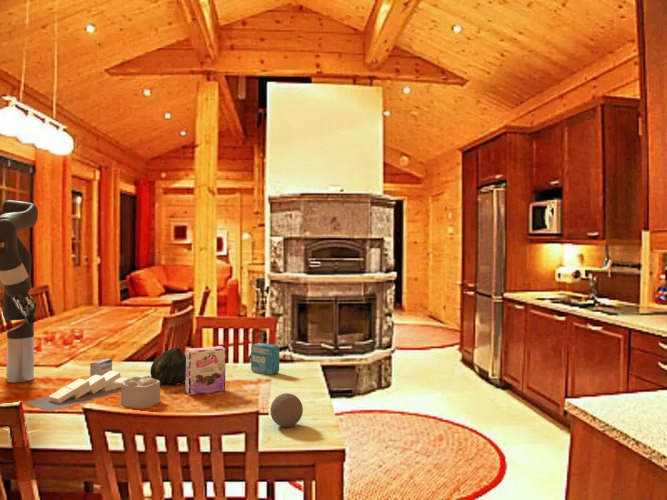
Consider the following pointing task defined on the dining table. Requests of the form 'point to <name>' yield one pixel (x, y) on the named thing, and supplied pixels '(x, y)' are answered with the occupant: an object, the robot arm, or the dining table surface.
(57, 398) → the domino
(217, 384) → the candy box
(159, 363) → the squash
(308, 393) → the dining table surface
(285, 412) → the decorative ball
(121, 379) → the domino
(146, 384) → the lumpy-topped squat cylinder
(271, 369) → the data package
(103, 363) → the medicine box
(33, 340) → the robot arm
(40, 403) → the mat
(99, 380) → the domino
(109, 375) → the domino
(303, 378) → the dining table surface
